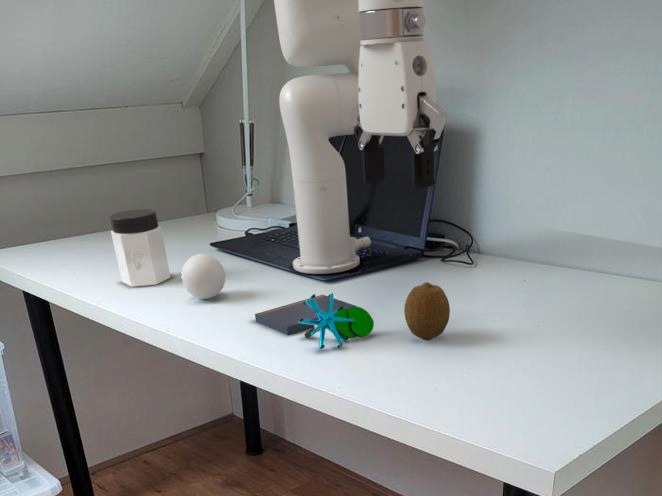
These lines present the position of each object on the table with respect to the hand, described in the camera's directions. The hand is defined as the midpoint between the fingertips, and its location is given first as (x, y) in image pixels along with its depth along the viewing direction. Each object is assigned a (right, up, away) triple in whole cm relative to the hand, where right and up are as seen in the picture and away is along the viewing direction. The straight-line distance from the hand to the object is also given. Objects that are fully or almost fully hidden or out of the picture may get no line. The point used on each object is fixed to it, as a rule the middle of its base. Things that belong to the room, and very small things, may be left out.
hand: (397, 184), depth 96 cm
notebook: (-13, -13, +20) cm, 27 cm away
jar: (-45, -1, +44) cm, 63 cm away
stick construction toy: (-9, -18, +11) cm, 23 cm away
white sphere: (-32, -7, +32) cm, 46 cm away
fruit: (+4, -19, +8) cm, 21 cm away
